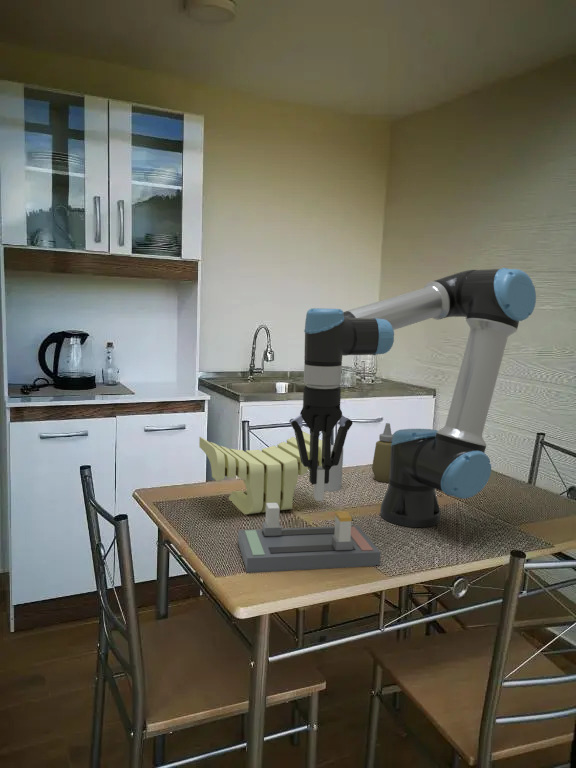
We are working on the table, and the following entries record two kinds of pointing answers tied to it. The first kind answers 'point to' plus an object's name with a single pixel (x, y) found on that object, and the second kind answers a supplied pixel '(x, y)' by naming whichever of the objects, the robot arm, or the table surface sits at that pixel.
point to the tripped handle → (342, 531)
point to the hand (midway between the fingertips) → (318, 498)
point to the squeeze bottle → (383, 456)
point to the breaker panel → (301, 547)
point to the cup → (335, 476)
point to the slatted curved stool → (260, 472)
